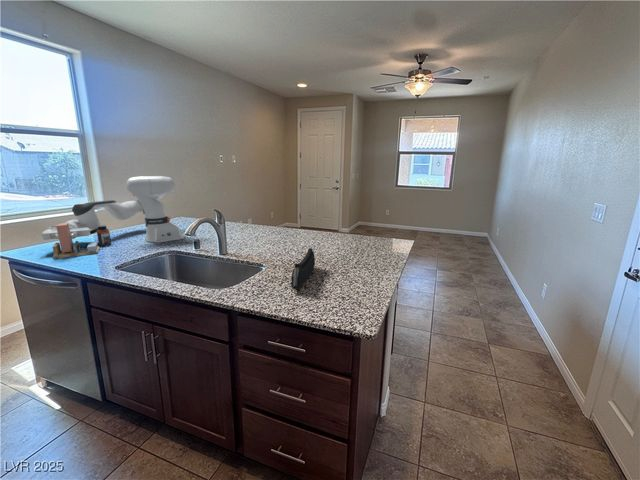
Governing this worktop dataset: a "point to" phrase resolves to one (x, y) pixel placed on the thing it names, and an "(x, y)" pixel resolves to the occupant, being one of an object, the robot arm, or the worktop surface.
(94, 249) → the flat bluegrey book
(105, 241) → the supplement bottle
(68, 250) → the boxed book
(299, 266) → the magazine
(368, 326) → the worktop surface
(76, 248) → the bookend
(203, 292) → the worktop surface
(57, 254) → the shelf
